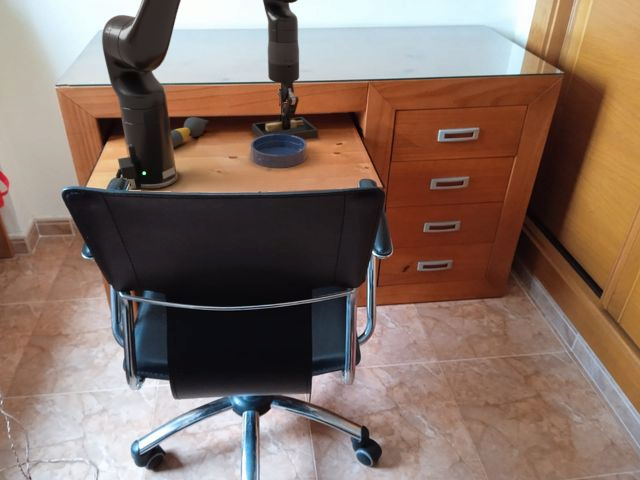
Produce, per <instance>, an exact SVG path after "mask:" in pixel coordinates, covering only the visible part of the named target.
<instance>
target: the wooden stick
mask: <svg viewBox="0 0 640 480" xmlns="http://www.w3.org/2000/svg"><path fill="white" fill-rule="evenodd" d="M299 125H303V121H302V120H298V121H295V120H291V128H296V127H297V126H299ZM265 128H266V131H267V132H269V131H276V130H282V121H281V122H274V123H267V124H265Z"/></svg>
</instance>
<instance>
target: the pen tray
mask: <svg viewBox="0 0 640 480" xmlns="http://www.w3.org/2000/svg"><path fill="white" fill-rule="evenodd" d="M291 120H295V121H298V120H302V121H303V125H299V126H297V127H296V128H290V129H288V130H283V129H282V130H276V131H269V132H267V131H266V128H265V124H267V123H274V122H279V120H278V119H277V120H271V121H264V122H257V123H251V129H252V133H253V134H254V135H255V136H256V138H258V137H261V136H264V135H270V134H288V135H293V136H297V137H300V138H302V139H303V140H304V141H305V140H310V139H315V138H319V137H318V136H319V132H318V131H319V129H318V128H316V127H315V126H314V125H313V124H311V123H310V122H309V120H306V119H305V118H304V117H303V116H299V117H291Z"/></svg>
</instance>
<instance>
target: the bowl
mask: <svg viewBox="0 0 640 480" xmlns="http://www.w3.org/2000/svg"><path fill="white" fill-rule="evenodd" d="M249 149H250V158H251V160H252V162H253V163H255V164H257V165H259V166H262V167H265V168H271V169H284V168H285V169H286V168H292V167H295V166H298V165H300V164H302V163H304V162H305V161H307V157H308V144H307V141H306V140H305V139H304V140H303V139H302V138H300V137H297V136H293V135H288V134H270V135H264V136H261V137H255V138H254V139H253V140H252V141H251V142H250V144H249Z"/></svg>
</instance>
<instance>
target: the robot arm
mask: <svg viewBox="0 0 640 480" xmlns="http://www.w3.org/2000/svg"><path fill="white" fill-rule="evenodd" d="M297 1H298V0H262V3H263V7H264V12H265V15H266V18H267V36H268V37H267V73H268V75H267V76H268V79H269V80H270V81H271V82H280V83H281V89H278V95H279V106H281V114H282V115H277V116H278V117H277V118H278V119H277V120H279V122H281V121H282V129H283V130H288V129H290V128H291V118H292V117H291V116H295V115H296V111H297V109H298V104H299V101H300V100H299V97H298V96H295V87H294V83H295V81H297V80H299V79H300V45H299V19H298V16H297V15H296V14H295V13H294V12H293V11H292V9H291V7H290V4H294V3H297ZM181 2H182V0H141V1H140V4H139V8H138V10H137V12H136V14H135V16H131V15H126V14H118V15H115V16H113V17H111V18H110V19H108V20H107V22H106V23H105V25H104V27H103V30H102V34H101V46H102V50H103V57H104V62H105V65H106V69H107V73H108V79H109V82H110V85H111V89H112V90H113V92H114V93H115V96H116V97H117V102H118V107H119V112H120V118H121V122H122V128H123V133H124V137H123V138H124V144H125V149H126V154H127V156H126V157H121V158H117V161H118V162H117V163H118V169H117V172H116V174H115V179H116V178H120V177H121V178H122V179H123V178H127V179H129V180H128V181H130V180H132V183H133V185H134V188H135V189H149V190H151V189H152V190H153V189H161V188H165V187H168V186H171V185H173V184H175V182H176V181H177V180H178V171H177V166H176V159H175V151H174V148H173V143H172V136H171V131H172V129H171V123H170V115H169V107H168V101H167V99H168V98H167V93H166V89H165V87H164V85H163V84H162V83H161V82H160V81H159V80H158V79H157V78H156V75H154V73H153V71H155V70H157V69H158V68H160V66H161V65H162V64H163V62H164V61H165V59H166V56H167V54H168V52H169V48H170V44H171V41H172V40H171V39H172V36H173V31H174V29H175V23H176V20H177V15H178V11H179V8H180V4H181ZM284 102H287V103H284ZM132 183H130V188H131V187H132Z"/></svg>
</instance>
